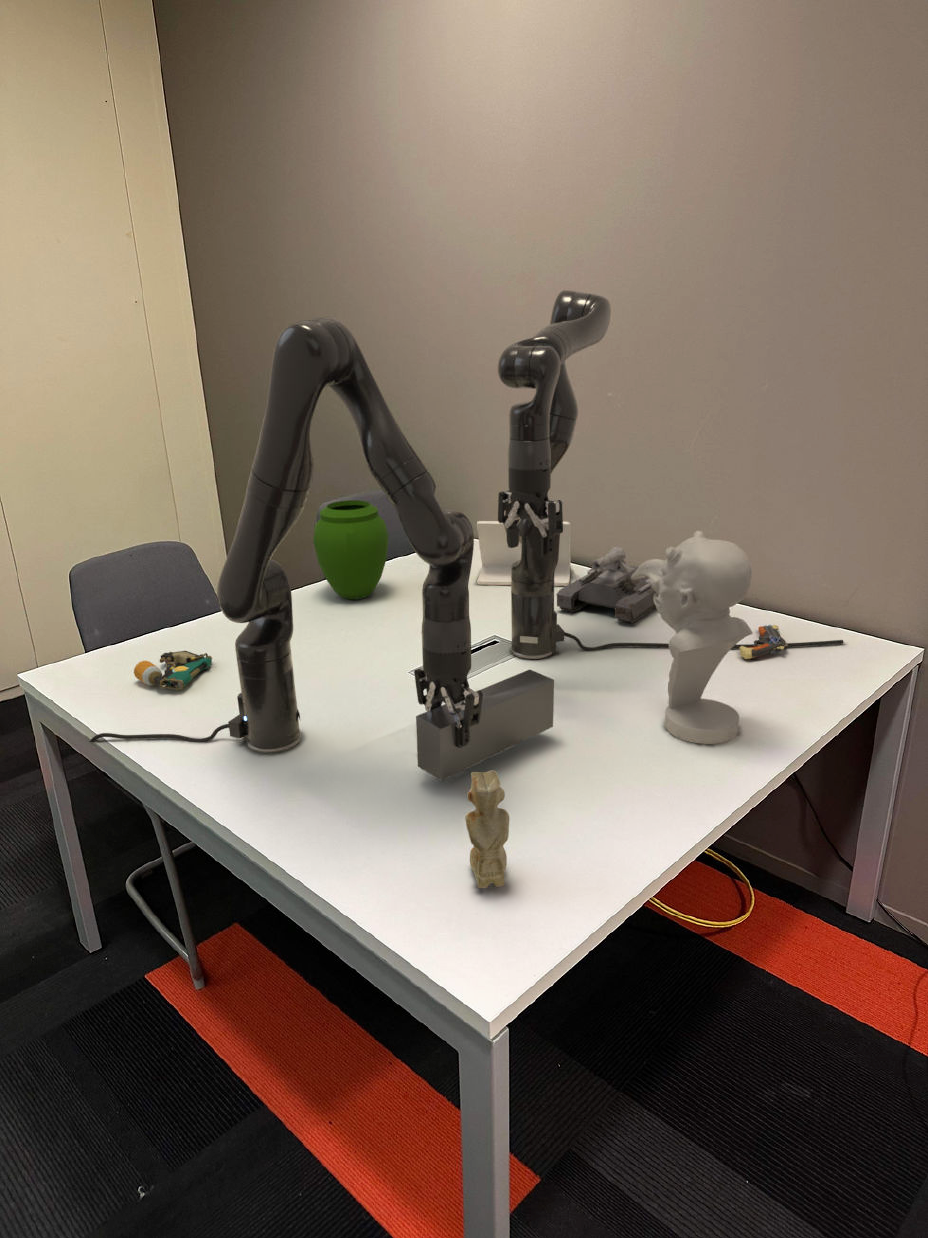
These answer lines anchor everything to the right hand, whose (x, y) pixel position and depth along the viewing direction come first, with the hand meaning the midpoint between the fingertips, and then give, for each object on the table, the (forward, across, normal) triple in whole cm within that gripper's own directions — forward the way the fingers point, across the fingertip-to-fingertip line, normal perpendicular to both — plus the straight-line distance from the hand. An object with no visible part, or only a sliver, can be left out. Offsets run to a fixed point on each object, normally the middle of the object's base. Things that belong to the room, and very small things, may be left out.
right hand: (529, 551), depth 157 cm
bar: (+27, +13, -23) cm, 37 cm away
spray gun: (+29, -59, -46) cm, 80 cm away
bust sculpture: (+29, +27, +11) cm, 42 cm away
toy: (+29, -21, +52) cm, 63 cm away
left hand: (+22, +13, -32) cm, 40 cm away
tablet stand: (+29, -54, +54) cm, 82 cm away
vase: (+29, -75, +10) cm, 81 cm away
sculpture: (+29, +36, -44) cm, 64 cm away
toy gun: (+29, +18, +54) cm, 64 cm away
